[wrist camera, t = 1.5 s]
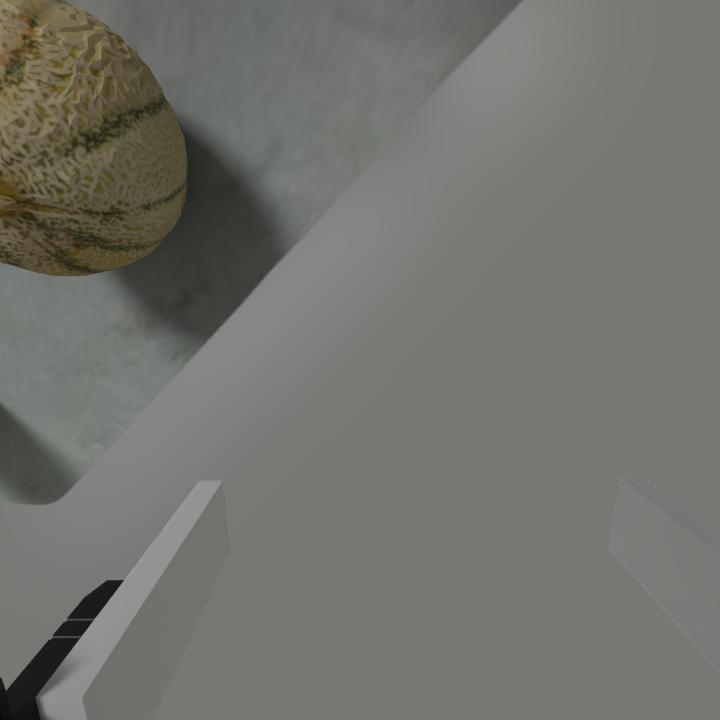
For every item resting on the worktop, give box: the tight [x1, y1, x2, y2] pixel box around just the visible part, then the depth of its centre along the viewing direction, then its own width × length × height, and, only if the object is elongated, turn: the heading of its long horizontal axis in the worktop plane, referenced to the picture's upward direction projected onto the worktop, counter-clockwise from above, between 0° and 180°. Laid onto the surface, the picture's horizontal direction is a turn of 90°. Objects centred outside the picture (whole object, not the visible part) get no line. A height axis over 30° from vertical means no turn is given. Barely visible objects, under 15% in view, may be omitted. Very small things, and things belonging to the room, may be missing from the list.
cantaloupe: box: [0, 0, 188, 276], centre depth 23 cm, size 15×15×15 cm
